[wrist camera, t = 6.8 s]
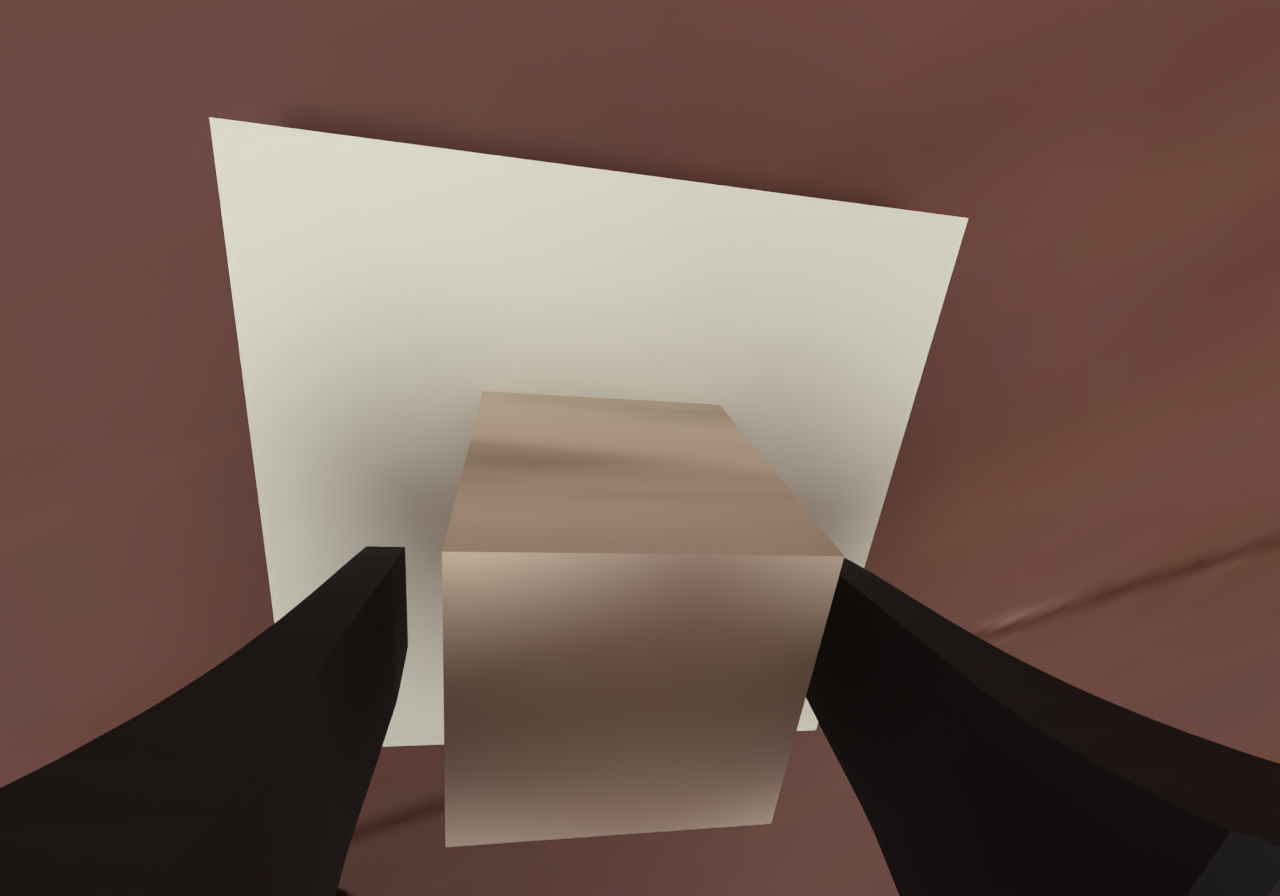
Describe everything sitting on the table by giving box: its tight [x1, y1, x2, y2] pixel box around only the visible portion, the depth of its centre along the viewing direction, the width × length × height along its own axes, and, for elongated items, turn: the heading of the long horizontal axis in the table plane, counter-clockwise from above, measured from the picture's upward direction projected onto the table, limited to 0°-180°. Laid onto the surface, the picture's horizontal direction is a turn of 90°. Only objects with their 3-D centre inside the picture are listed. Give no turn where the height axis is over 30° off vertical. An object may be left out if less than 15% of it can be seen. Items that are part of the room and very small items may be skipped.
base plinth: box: [209, 117, 968, 747], centre depth 15 cm, size 14×14×3 cm
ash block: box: [442, 391, 844, 847], centre depth 11 cm, size 5×5×6 cm
